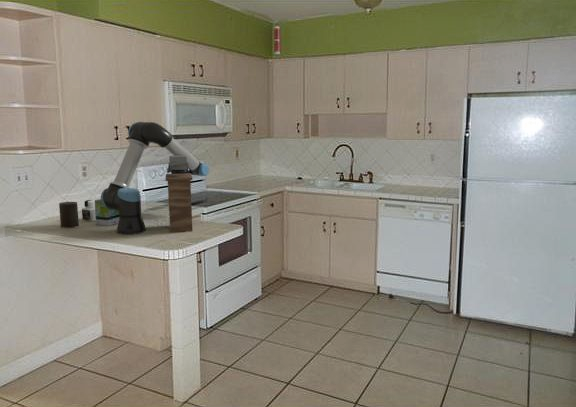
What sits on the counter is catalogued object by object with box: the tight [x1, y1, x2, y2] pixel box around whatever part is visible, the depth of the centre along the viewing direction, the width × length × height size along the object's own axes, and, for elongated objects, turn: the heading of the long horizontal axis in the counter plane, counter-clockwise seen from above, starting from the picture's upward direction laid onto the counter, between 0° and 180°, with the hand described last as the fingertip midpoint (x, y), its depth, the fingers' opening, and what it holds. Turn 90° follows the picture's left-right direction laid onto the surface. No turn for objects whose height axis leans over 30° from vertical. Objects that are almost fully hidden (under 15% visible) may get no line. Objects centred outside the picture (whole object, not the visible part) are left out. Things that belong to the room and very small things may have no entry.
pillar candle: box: [58, 201, 80, 229], centre depth 286 cm, size 10×10×15 cm
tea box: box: [94, 198, 119, 227], centre depth 293 cm, size 15×10×15 cm, turn 159°
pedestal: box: [165, 173, 193, 233], centre depth 277 cm, size 19×14×30 cm
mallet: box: [168, 155, 187, 170], centre depth 280 cm, size 25×9×7 cm, turn 13°
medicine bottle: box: [81, 199, 96, 222], centre depth 302 cm, size 7×7×12 cm
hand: (177, 159), depth 283 cm, fingers closed on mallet, 3 cm apart
